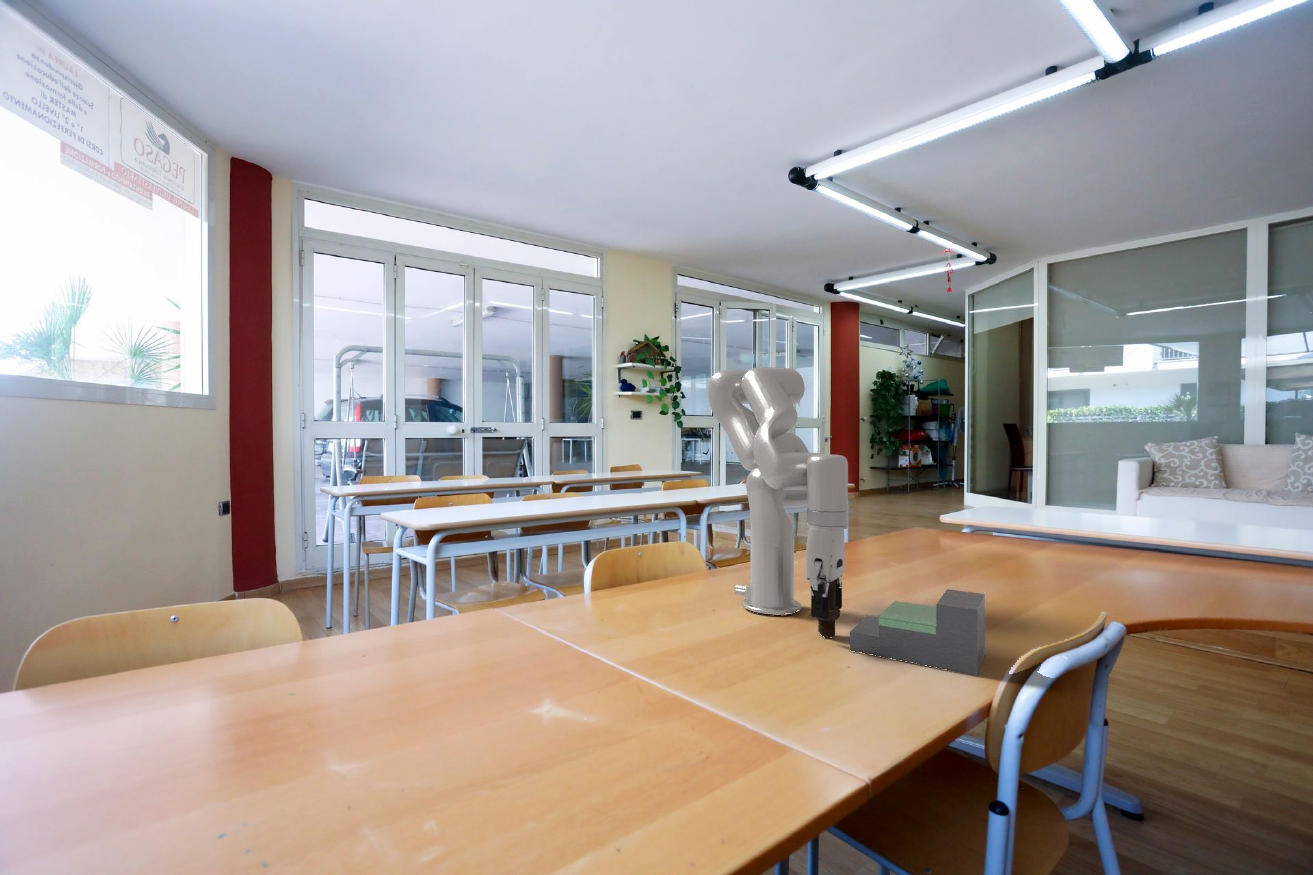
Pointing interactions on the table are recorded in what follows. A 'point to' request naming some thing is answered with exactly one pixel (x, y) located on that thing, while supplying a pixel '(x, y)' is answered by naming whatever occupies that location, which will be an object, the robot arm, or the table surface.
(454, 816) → the table surface
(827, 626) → the bolt
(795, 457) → the robot arm
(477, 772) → the table surface
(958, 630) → the stepped stand
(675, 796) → the table surface
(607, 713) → the table surface
